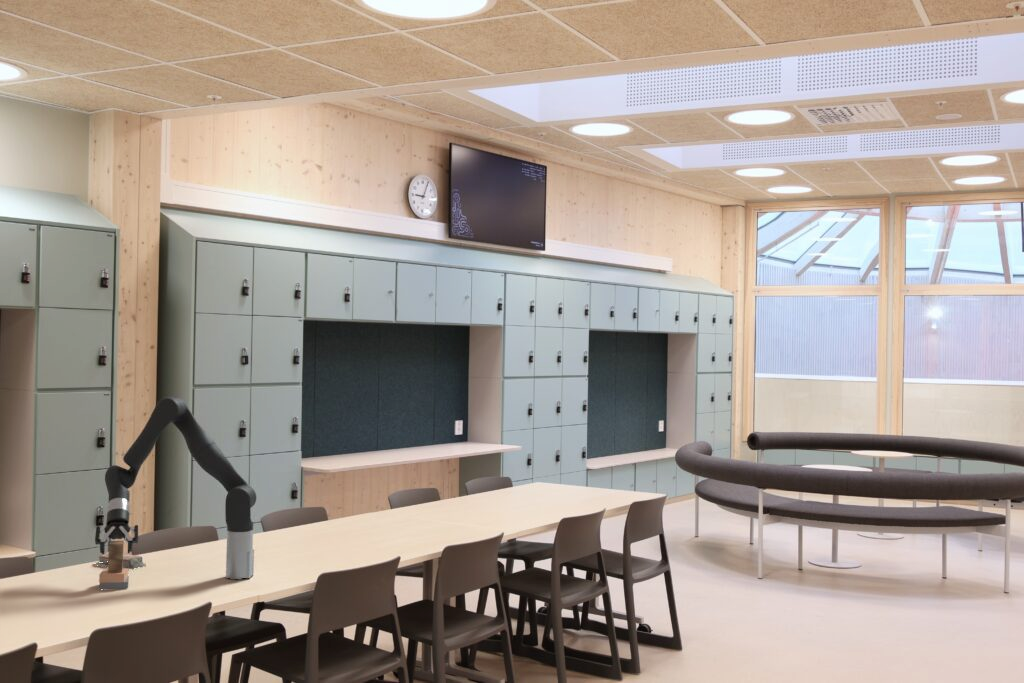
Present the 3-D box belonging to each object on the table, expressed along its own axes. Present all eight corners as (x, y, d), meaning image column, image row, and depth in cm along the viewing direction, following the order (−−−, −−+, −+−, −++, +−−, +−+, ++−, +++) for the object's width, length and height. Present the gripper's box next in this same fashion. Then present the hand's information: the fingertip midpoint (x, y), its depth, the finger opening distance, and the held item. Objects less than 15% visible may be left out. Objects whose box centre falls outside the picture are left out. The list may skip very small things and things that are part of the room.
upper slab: (128, 576, 342) (128, 568, 342) (123, 582, 335) (124, 573, 335) (103, 577, 341) (104, 568, 341) (99, 582, 333) (99, 574, 333)
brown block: (122, 569, 341) (123, 540, 340) (121, 572, 336) (122, 543, 336) (108, 569, 339) (109, 541, 339) (107, 573, 335) (108, 544, 335)
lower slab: (128, 584, 344) (128, 576, 344) (127, 590, 335) (127, 582, 335) (100, 586, 341) (101, 577, 341) (99, 592, 332) (99, 583, 332)
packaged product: (147, 554, 371) (126, 559, 362) (147, 567, 371) (126, 572, 362) (113, 549, 379) (92, 553, 370) (113, 561, 379) (92, 566, 370)
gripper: (96, 508, 343) (93, 547, 332) (139, 506, 348) (138, 545, 337) (96, 520, 348) (93, 559, 337) (139, 519, 352) (138, 557, 341)
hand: (116, 552), depth 337 cm, fingers open, 8 cm apart
